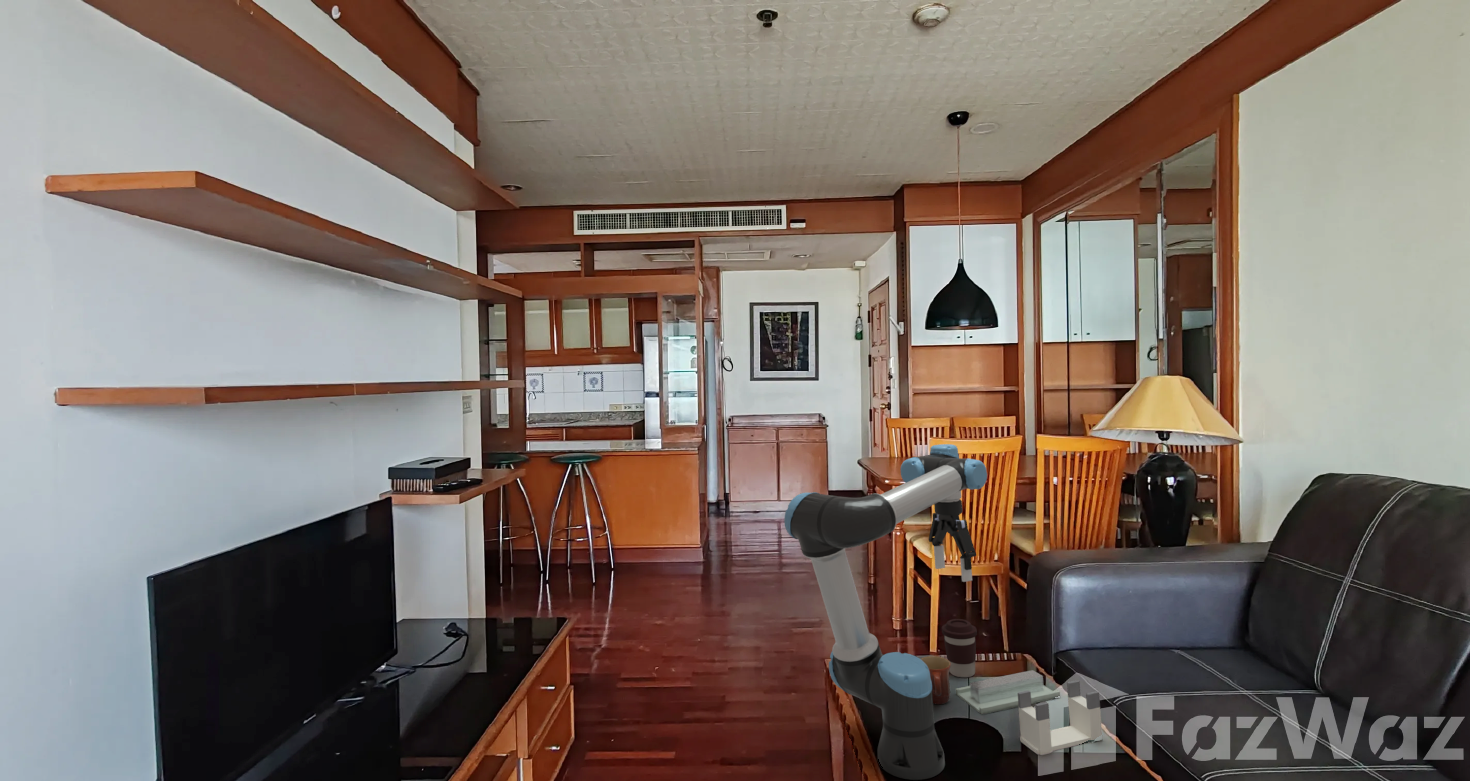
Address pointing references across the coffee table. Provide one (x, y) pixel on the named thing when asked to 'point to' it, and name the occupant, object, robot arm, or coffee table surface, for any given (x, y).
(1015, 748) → the coffee table surface
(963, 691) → the pad
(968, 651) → the coffee cup
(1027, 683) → the rail
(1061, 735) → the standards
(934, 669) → the mug
